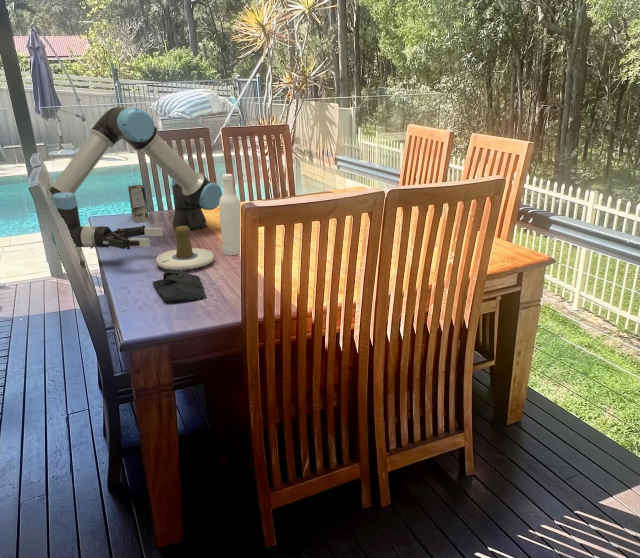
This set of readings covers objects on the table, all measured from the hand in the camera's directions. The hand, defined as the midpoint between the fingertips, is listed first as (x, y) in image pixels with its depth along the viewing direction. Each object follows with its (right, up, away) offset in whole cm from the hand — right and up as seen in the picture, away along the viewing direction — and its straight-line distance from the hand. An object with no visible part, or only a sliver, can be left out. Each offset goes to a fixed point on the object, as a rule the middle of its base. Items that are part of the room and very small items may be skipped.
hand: (156, 237), depth 187 cm
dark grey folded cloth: (+14, -19, -20) cm, 31 cm away
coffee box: (-28, +13, +65) cm, 72 cm away
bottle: (+25, -5, +16) cm, 30 cm away
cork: (+10, -7, +2) cm, 12 cm away
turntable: (+10, -8, +3) cm, 13 cm away
